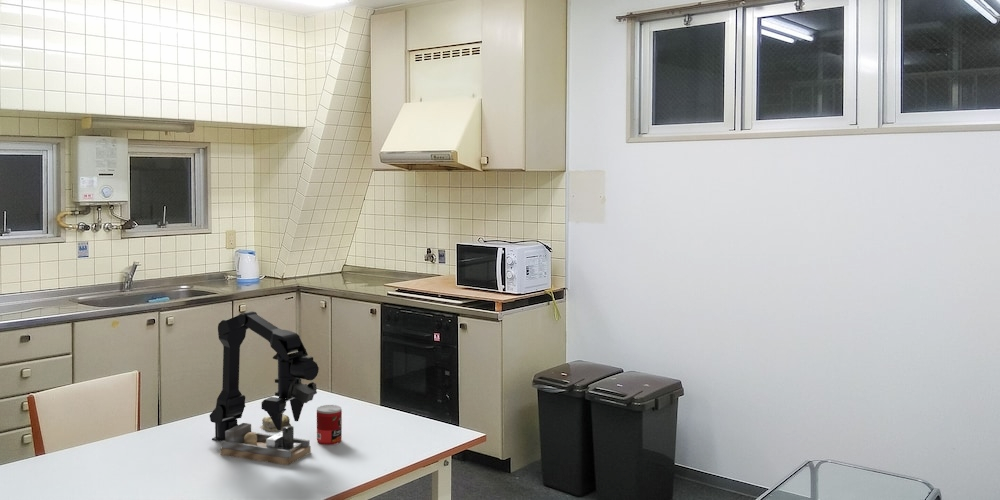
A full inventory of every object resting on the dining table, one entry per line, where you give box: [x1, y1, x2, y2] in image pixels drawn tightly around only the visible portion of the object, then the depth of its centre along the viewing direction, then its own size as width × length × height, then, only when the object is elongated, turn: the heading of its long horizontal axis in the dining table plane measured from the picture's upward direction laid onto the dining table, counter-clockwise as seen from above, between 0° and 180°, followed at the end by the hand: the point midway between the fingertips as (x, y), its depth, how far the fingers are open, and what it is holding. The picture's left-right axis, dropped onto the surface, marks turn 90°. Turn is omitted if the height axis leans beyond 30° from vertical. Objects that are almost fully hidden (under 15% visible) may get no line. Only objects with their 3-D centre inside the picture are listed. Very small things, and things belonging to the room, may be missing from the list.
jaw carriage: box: [266, 425, 301, 452], centre depth 242 cm, size 7×8×7 cm
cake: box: [260, 413, 292, 432], centre depth 270 cm, size 10×10×5 cm
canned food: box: [316, 404, 343, 446], centre depth 256 cm, size 8×8×11 cm
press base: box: [220, 422, 312, 466], centre depth 244 cm, size 24×12×7 cm, turn 71°
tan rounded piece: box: [244, 431, 257, 445], centre depth 246 cm, size 4×4×4 cm
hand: (287, 425), depth 241 cm, fingers open, 9 cm apart
